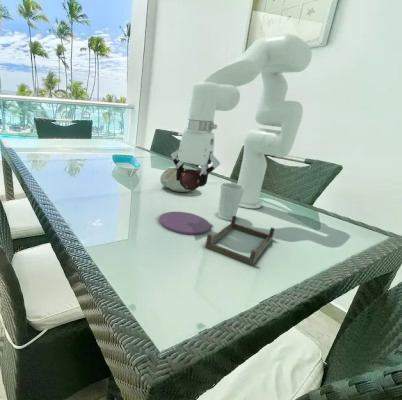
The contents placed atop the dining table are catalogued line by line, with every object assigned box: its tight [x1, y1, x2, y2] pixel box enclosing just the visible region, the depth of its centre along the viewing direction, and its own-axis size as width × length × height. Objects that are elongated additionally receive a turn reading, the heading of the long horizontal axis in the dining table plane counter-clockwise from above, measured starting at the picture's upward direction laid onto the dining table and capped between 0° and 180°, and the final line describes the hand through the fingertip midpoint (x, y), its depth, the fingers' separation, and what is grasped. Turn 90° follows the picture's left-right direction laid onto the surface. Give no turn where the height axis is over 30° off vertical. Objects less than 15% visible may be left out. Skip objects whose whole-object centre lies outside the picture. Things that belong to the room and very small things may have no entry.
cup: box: [217, 182, 245, 221], centre depth 100 cm, size 8×8×12 cm
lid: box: [158, 211, 211, 236], centre depth 93 cm, size 17×17×1 cm
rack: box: [205, 215, 276, 267], centre depth 81 cm, size 21×13×4 cm, turn 140°
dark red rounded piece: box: [179, 168, 202, 192], centre depth 88 cm, size 7×7×15 cm
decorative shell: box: [159, 166, 191, 193], centre depth 129 cm, size 18×18×10 cm
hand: (190, 182), depth 88 cm, fingers closed on dark red rounded piece, 7 cm apart
